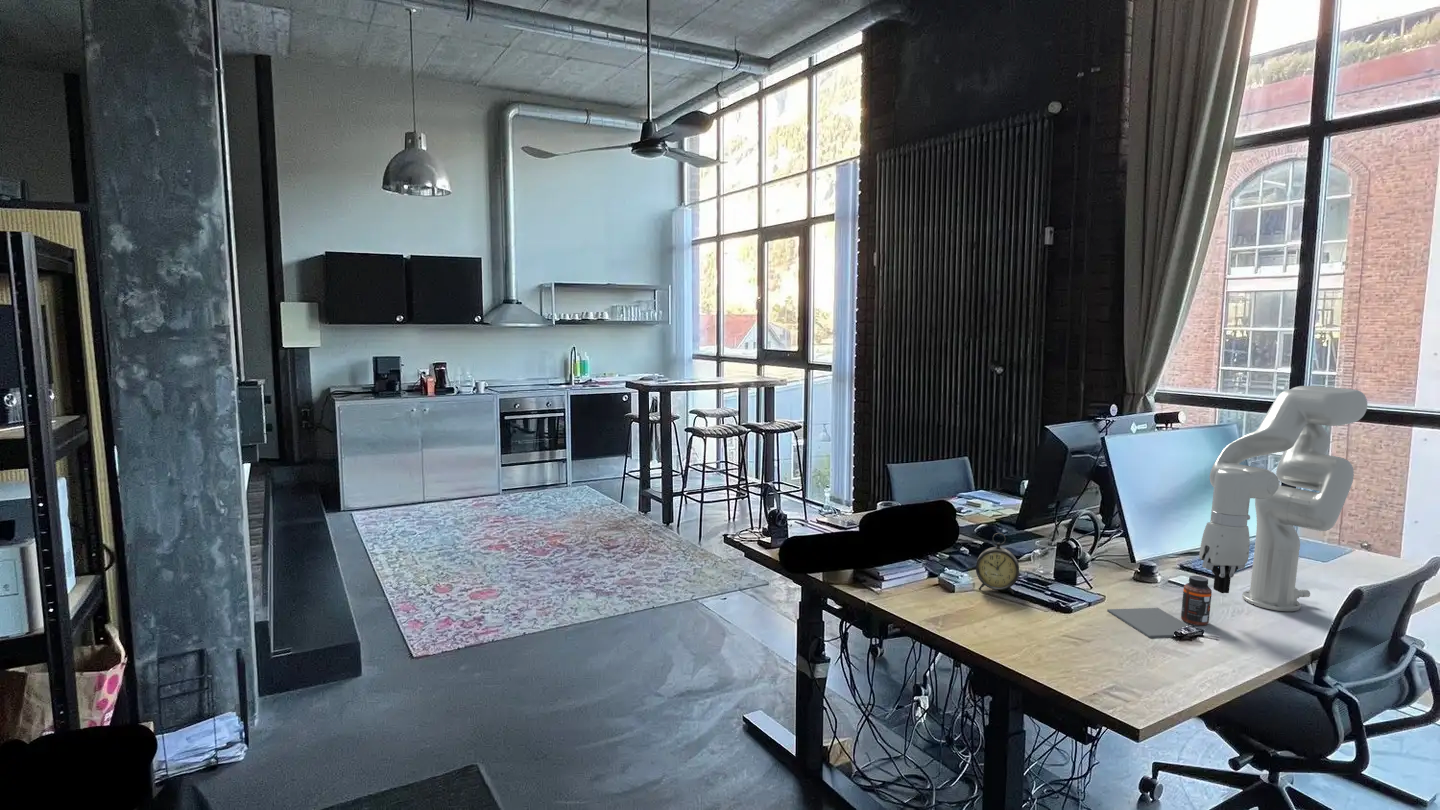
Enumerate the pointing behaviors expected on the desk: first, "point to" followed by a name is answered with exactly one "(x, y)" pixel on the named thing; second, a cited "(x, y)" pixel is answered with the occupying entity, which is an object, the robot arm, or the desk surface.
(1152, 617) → the rubber mat
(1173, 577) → the desk surface
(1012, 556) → the alarm clock
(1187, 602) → the supplement bottle
